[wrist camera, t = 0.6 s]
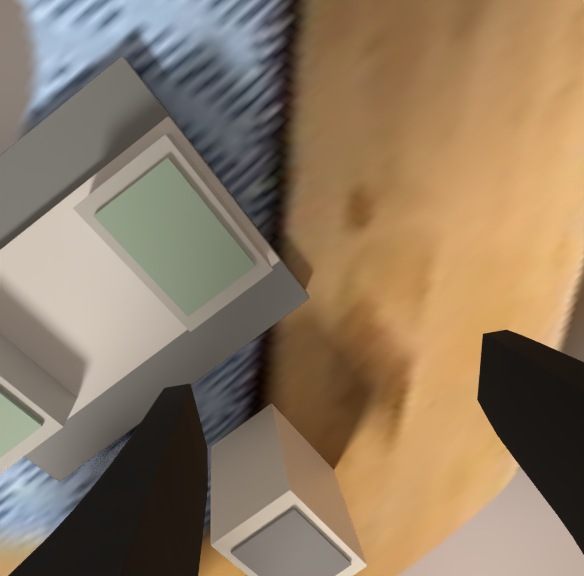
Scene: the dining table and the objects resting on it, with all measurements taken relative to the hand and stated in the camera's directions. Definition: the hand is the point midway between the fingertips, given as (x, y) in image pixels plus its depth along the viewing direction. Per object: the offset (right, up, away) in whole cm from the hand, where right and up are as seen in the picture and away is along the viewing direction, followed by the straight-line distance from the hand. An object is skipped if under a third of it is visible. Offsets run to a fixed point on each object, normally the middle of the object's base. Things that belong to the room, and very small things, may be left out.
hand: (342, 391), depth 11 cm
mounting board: (-10, +2, +9) cm, 14 cm away
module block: (-2, -7, +14) cm, 15 cm away
